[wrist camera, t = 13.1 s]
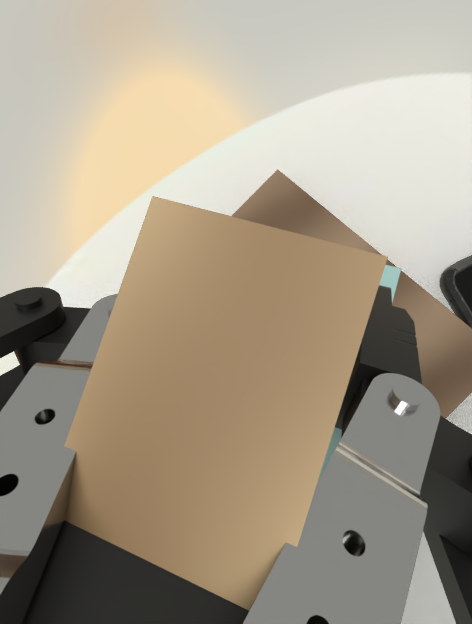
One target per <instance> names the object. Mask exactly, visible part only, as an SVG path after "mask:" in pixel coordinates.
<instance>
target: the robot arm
mask: <svg viewBox="0 0 472 624" xmlns="http://www.w3.org/2000/svg"><path fill="white" fill-rule="evenodd" d="M117 295H118V294H115V295H110V296H107V297H104V298H102V299H100V300H99V301H97V302H96V303H95V304H94V305H93V306H92V308H91V309H89V308H73V307H63V304H62V301H61V297H60V295H59V293H57V292H56V291H54V290H52V289H49V288H43V287H34V288H26V289H22V290H19V291H16V292H13V293H11V294H8V295H6V296H3V297H1V298H0V358H2V357H4V356H5V355H7V354H9V353H11V352H13V351H14V352H15V354H16V357H17V359H18V361H19V363H20V365H19V366H17V367H15V368H14V369H12V370H10V371H8V372H6V373H5V374H3V375H1V376H0V624H401V620H402V615H403V611H404V607H405V603H406V599H407V595H408V590H409V586H410V582H411V578H412V574H413V570H414V565H415V561H416V557H417V553H418V549H419V545H420V540H421V536H422V532H423V531H424V534H425V536H426V539H427V542H428V545H429V548H430V551H431V553H432V556H433V559H434V562H435V565H436V567H437V570H438V573H439V576H440V579H441V582H442V584H443V587H444V590H445V593H446V596H447V598H448V601H449V604H450V607H451V610H452V613H453V615H454V618H455V621H456V624H472V435H471V434H469V433H468V432H466V431H464V430H462V429H461V428H459V427H457V426H455V425H454V424H452V423H451V422H449V421H448V420H446V419H445V418H444V417H442V416H441V415H440V407H439V404H438V402H437V400H436V399H435V397H434V396H433V395H432V393H431V392H430V391H429V390H428V389H427V388H425V387H424V386H423V385H422V379H421V371H420V363H419V356H418V348H417V340H416V337H415V335H416V332H415V324H414V321H413V320H412V318H411V317H410V315H409V314H408V313H407V311H406V310H405V309H403V308H399V307H395V306H392V291H391V288H390V287H386V286H382V285H379V287H378V290H377V293H376V296H375V300H374V303H373V306H372V309H371V312H370V316H369V319H368V322H367V325H366V328H365V332H364V335H363V338H362V341H361V344H360V348H359V351H358V354H357V357H356V360H355V364H354V367H353V370H352V373H351V376H350V380H349V383H348V386H347V389H346V392H345V396H344V399H343V402H342V405H341V408H340V412H339V415H338V418H337V421H336V424H335V427H336V428H339V429H341V430H342V434H341V440H340V442H339V444H338V445H337V447H336V449H335V451H334V453H333V455H332V457H331V459H330V460H329V462H328V464H327V466H326V468H325V470H324V472H323V474H322V475H321V477H320V479H319V481H318V483H317V485H316V488H315V492H314V495H313V498H312V501H311V504H310V508H309V511H308V514H307V517H306V520H305V524H304V527H303V530H302V533H301V536H300V540H299V543H298V546H297V547H296V546H293V545H291V544H289V543H285V545H284V547H283V549H282V551H281V553H280V555H279V556H278V558H277V560H276V562H275V564H274V566H273V568H272V570H271V571H270V573H269V575H268V577H267V579H266V581H265V583H264V585H263V587H262V588H261V590H260V592H259V594H258V596H257V598H256V600H255V602H254V603H253V605H252V607H251V609H250V611H249V610H247V609H245V608H243V607H241V606H239V605H237V604H235V603H232V602H230V601H228V600H226V599H224V598H222V597H220V596H218V595H216V594H214V593H212V592H210V591H208V590H206V589H204V588H202V587H200V586H198V585H196V584H194V583H192V582H190V581H188V580H186V579H183V578H181V577H179V576H177V575H175V574H173V573H171V572H169V571H167V570H165V569H163V568H161V567H159V566H157V565H155V564H153V563H151V562H149V561H147V560H145V559H143V558H141V557H139V556H136V555H134V554H132V553H130V552H128V551H126V550H124V549H122V548H120V547H118V546H116V545H114V544H112V543H110V542H108V541H106V540H104V539H102V538H100V537H98V536H96V535H94V534H92V533H90V532H87V531H85V530H83V529H81V528H79V527H77V526H75V525H73V524H71V523H69V522H67V521H65V520H64V518H65V516H66V513H67V511H68V507H69V500H70V492H71V485H72V478H73V471H74V464H75V457H76V451H74V450H72V449H70V448H67V447H65V446H64V445H65V442H66V439H67V437H68V434H69V431H70V428H71V425H72V422H73V420H74V417H75V414H76V411H77V408H78V406H79V403H80V400H81V397H82V394H83V391H84V389H85V386H86V383H87V380H88V377H89V374H90V372H91V369H92V366H93V363H94V360H95V358H96V355H97V352H98V349H99V346H100V343H101V341H102V338H103V335H104V332H105V329H106V326H107V324H108V321H109V318H110V315H111V312H112V310H113V307H114V304H115V301H116V298H117Z"/></svg>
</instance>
